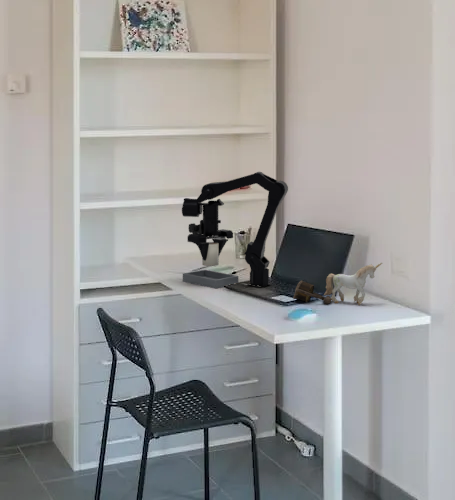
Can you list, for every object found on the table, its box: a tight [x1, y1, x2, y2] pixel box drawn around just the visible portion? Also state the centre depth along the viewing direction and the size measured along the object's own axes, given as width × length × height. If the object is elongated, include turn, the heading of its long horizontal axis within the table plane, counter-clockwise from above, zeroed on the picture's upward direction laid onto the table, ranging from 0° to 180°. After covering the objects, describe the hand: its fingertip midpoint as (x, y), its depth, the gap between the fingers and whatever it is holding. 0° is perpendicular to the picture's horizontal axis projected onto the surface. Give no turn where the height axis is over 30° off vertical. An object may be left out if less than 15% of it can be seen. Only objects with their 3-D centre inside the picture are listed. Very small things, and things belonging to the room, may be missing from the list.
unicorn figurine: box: [323, 262, 383, 306], centre depth 296 cm, size 7×20×13 cm, turn 86°
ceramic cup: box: [201, 241, 220, 267], centre depth 327 cm, size 6×6×8 cm
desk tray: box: [182, 269, 239, 289], centre depth 329 cm, size 18×12×3 cm, turn 46°
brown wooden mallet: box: [292, 280, 332, 305], centre depth 298 cm, size 7×13×10 cm
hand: (210, 259), depth 328 cm, fingers closed on ceramic cup, 6 cm apart
